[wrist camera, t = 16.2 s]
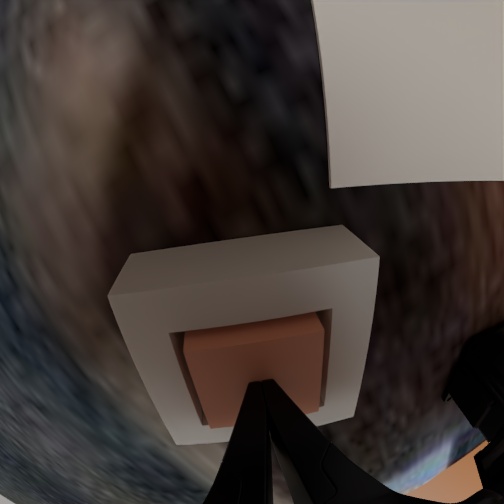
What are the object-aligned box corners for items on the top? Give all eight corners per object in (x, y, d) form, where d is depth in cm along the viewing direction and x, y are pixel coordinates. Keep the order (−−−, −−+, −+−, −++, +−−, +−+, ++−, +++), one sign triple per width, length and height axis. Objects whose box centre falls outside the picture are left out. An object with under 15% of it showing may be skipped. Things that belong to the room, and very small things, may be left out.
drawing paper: (519, -37, 5) (522, -37, 5) (553, 181, 12) (556, 182, 12) (276, -135, 4) (277, -138, 3) (329, 187, 11) (332, 188, 10)
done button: (302, 288, 11) (324, 329, 9) (303, 368, 13) (318, 411, 10) (187, 305, 11) (183, 351, 8) (208, 383, 12) (210, 428, 10)
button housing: (342, 224, 11) (379, 256, 8) (333, 373, 14) (353, 416, 12) (130, 254, 11) (107, 295, 8) (179, 397, 14) (176, 445, 11)
